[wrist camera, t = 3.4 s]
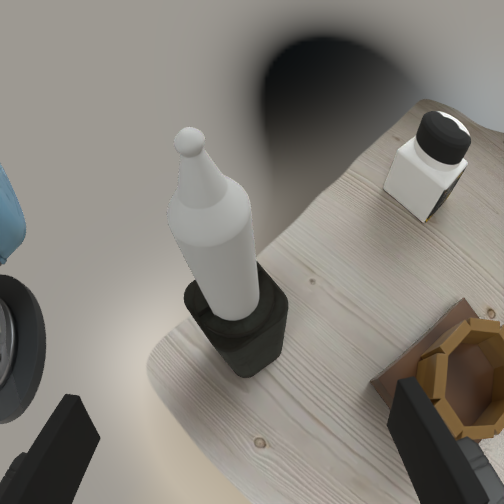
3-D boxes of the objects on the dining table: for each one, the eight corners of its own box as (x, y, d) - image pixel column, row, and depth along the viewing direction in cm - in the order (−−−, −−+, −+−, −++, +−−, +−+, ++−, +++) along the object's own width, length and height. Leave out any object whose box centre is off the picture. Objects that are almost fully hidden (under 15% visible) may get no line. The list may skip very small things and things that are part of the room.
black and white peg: (212, 340, 30) (78, 135, 8) (254, 310, 31) (217, 65, 10) (243, 382, 28) (139, 250, 6) (286, 350, 29) (328, 138, 7)
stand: (435, 473, 22) (469, 481, 16) (369, 381, 27) (393, 371, 21) (510, 388, 24) (546, 378, 19) (453, 305, 30) (483, 281, 24)
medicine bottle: (423, 225, 35) (464, 157, 24) (381, 189, 38) (408, 115, 27) (448, 197, 37) (485, 133, 26) (409, 165, 40) (435, 97, 29)
